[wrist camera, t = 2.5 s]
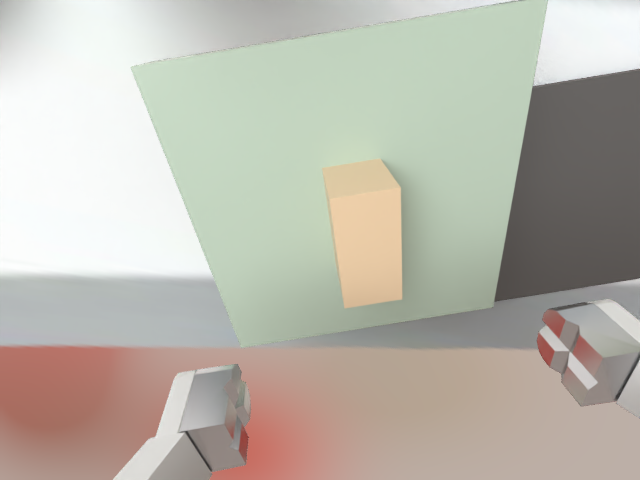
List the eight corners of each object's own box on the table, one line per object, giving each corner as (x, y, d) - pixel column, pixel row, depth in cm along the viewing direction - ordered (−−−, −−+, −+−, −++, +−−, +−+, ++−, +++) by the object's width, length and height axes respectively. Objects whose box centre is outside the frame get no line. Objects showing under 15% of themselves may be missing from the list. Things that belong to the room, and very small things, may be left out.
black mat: (761, 48, 20) (769, 49, 20) (653, 272, 29) (657, 275, 29) (478, 95, 20) (482, 96, 20) (457, 303, 29) (459, 307, 29)
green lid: (510, 1, 13) (623, -13, 9) (473, 281, 21) (524, 351, 16) (153, 61, 13) (85, 77, 9) (245, 318, 21) (234, 397, 16)
